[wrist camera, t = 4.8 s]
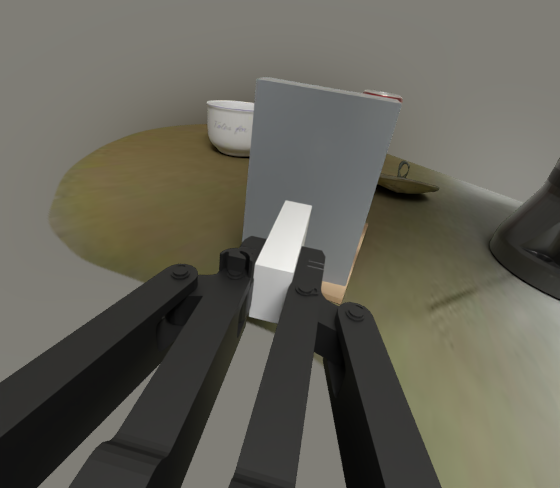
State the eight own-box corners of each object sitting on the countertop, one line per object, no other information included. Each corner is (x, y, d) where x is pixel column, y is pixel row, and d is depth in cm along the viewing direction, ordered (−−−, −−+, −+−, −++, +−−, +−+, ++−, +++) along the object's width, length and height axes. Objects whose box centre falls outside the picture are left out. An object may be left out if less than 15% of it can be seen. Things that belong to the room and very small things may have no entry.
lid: (360, 198, 45) (369, 164, 43) (362, 177, 54) (370, 147, 51) (437, 215, 44) (452, 181, 41) (427, 191, 52) (439, 161, 50)
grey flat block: (345, 286, 26) (401, 103, 19) (240, 262, 27) (256, 78, 20) (346, 267, 29) (396, 98, 22) (249, 246, 30) (266, 76, 22)
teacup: (206, 159, 51) (207, 105, 46) (205, 141, 60) (206, 93, 55) (291, 165, 54) (299, 115, 50) (278, 147, 63) (284, 103, 59)
